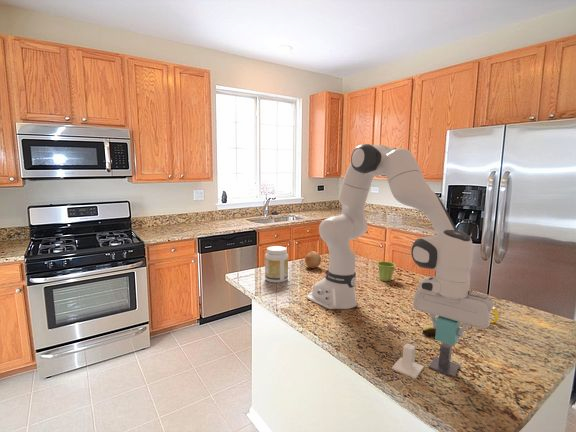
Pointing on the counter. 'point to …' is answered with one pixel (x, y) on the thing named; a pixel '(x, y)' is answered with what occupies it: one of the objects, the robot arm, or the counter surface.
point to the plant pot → (386, 270)
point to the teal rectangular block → (447, 330)
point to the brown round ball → (312, 259)
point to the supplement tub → (276, 264)
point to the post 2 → (444, 361)
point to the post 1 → (408, 363)
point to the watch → (495, 315)
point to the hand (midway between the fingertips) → (447, 331)
